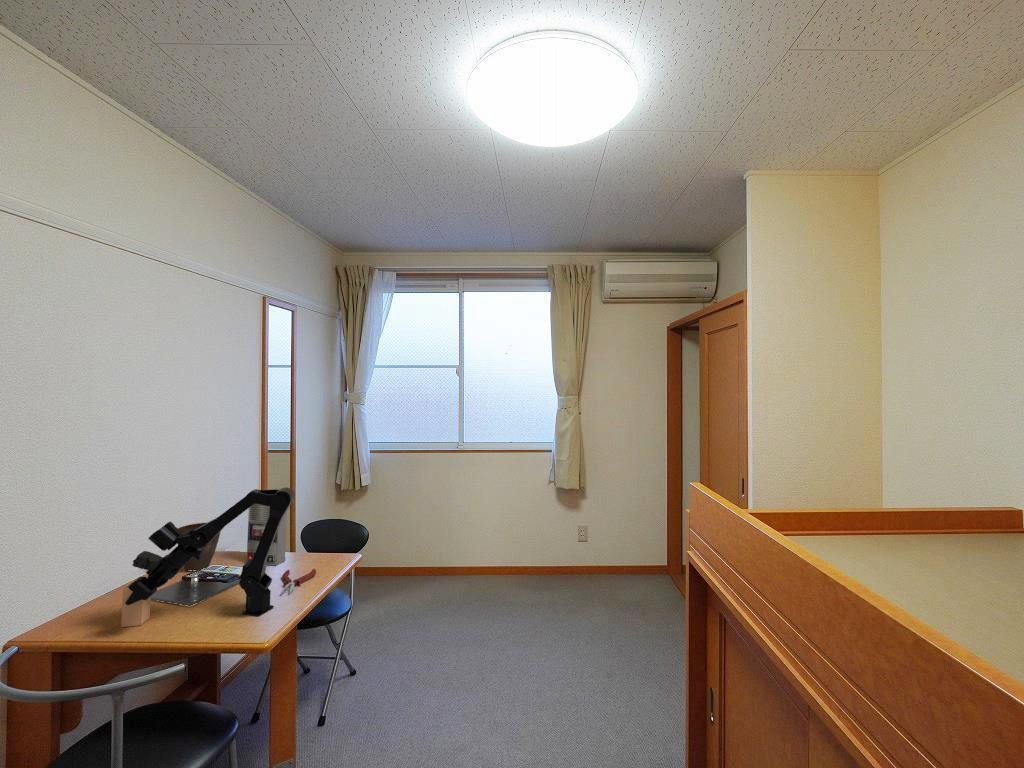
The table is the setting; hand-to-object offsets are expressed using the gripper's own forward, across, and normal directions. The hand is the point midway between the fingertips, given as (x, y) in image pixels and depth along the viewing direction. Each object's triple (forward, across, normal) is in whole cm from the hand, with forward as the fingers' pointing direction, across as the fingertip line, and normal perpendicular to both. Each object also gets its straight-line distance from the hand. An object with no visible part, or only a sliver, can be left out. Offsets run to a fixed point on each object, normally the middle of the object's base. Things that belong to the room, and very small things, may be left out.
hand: (131, 600), depth 135 cm
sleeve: (+4, 0, +6) cm, 7 cm away
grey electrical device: (-13, -45, +23) cm, 53 cm away
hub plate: (-2, -21, +11) cm, 24 cm away
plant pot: (+4, -44, +6) cm, 45 cm away
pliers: (-23, -21, +34) cm, 46 cm away
